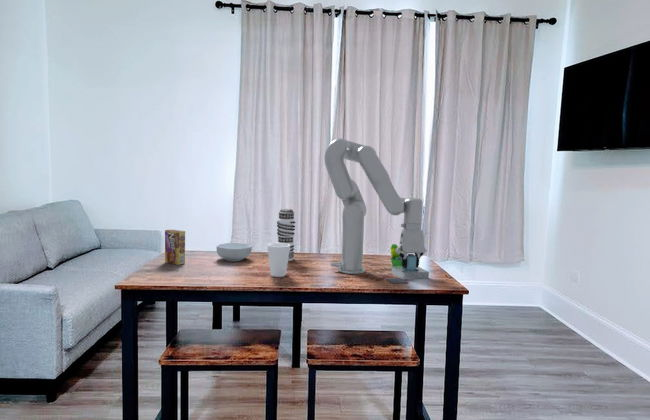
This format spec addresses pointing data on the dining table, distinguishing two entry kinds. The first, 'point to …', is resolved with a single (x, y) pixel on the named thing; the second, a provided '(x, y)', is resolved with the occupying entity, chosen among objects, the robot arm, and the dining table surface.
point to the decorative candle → (286, 229)
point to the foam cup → (278, 258)
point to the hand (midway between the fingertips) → (410, 266)
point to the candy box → (175, 247)
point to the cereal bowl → (234, 251)
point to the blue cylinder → (411, 262)
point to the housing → (410, 273)
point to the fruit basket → (395, 256)
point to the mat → (396, 281)
